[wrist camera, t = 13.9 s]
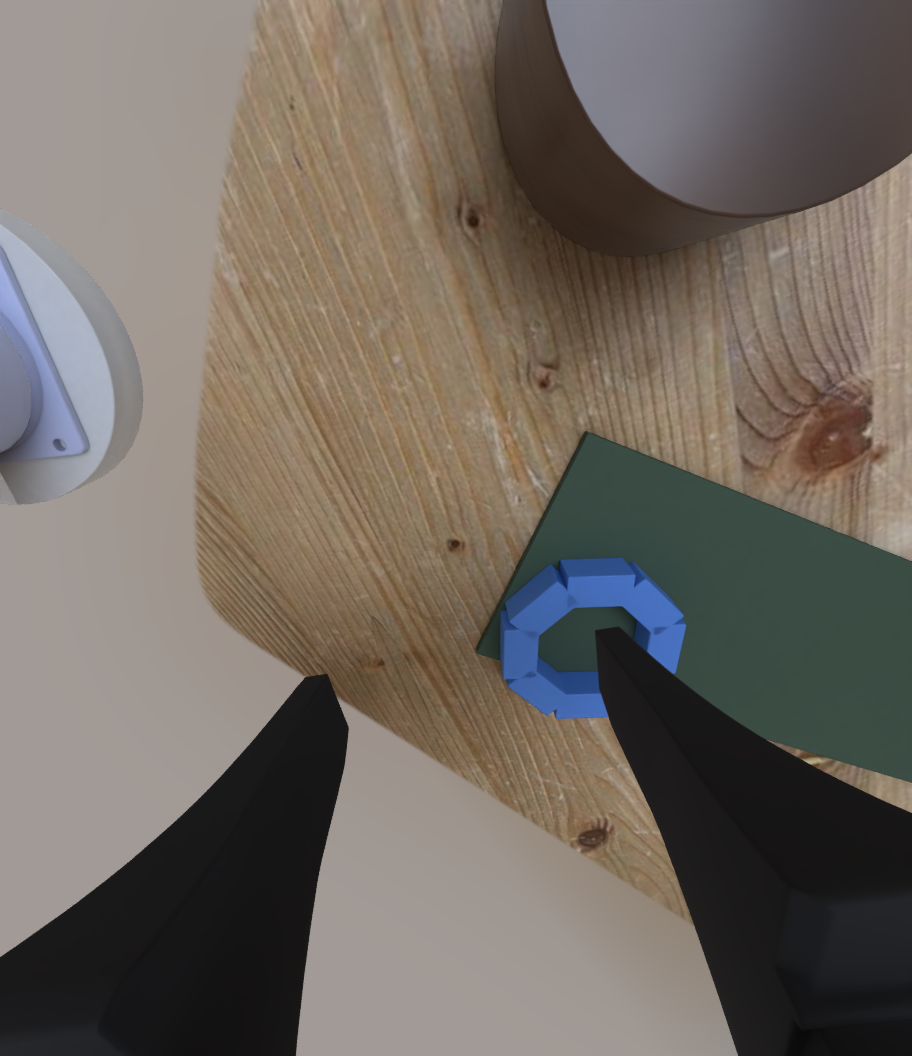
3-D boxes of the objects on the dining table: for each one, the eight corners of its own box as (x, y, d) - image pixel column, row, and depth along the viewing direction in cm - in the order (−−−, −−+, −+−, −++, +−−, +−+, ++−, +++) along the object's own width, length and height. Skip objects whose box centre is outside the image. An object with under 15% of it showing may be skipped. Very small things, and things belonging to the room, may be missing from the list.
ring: (499, 697, 24) (502, 721, 23) (501, 561, 21) (505, 579, 19) (653, 691, 24) (666, 715, 23) (681, 555, 21) (699, 572, 19)
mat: (475, 648, 23) (476, 653, 23) (585, 430, 19) (588, 432, 18) (1039, 816, 30) (1046, 822, 30) (1223, 686, 25) (1234, 691, 25)
